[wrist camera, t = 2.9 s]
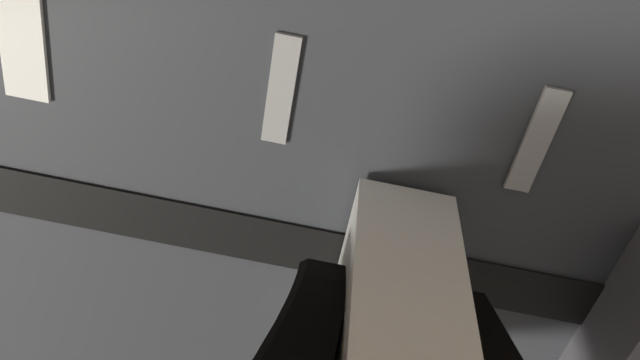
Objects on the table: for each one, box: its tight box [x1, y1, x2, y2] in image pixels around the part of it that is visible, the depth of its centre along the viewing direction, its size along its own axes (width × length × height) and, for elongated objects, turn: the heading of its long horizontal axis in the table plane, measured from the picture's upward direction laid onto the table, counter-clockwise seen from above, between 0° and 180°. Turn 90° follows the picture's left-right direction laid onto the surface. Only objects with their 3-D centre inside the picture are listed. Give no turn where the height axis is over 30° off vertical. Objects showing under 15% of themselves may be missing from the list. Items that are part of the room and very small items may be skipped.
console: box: [0, 0, 640, 360], centre depth 11 cm, size 16×16×4 cm
